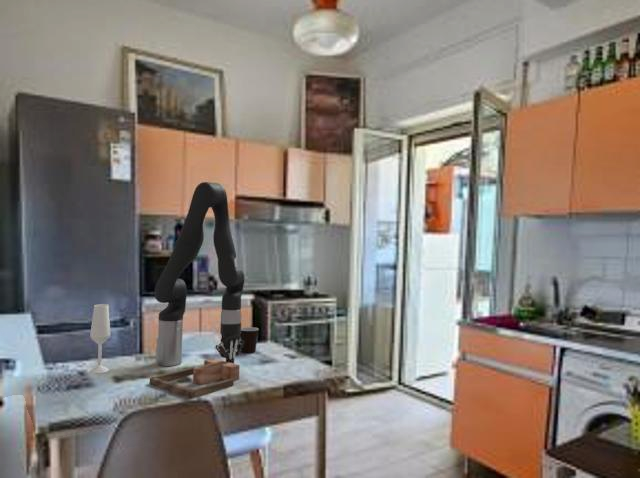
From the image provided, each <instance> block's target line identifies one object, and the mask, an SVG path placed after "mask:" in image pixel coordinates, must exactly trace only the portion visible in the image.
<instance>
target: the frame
mask: <svg viewBox="0 0 640 478" xmlns="http://www.w3.org/2000/svg"><path fill="white" fill-rule="evenodd" d="M194 368H195V367H189V368H185V369H181V370H176V371H173V372H172V371H171V372H168V373H164V374H160V375H156V376H151V377H149V385H152V386H154V387H157V388H161V389H163V390H166V391H169V392H171V393H174V394H177V395H180V396H183V397H186V398H189V399H195V398H198V397H202V396H203V395H204V396H205V395H207V394H210V393H213V392H217V391H220V390H223V389H227V388H230V387H233V386H234V380H233V379H228V380H222V381H218V382H215V383H212V384H208V385H205V386H201V387H197V388H195V389H194V388H193V389H191V388H187V387H184V386H182V385H180V384H176V383H173V382H170V381H172V380H176V379H180V378H183V377H188V376H191V375H193V371H194Z"/></svg>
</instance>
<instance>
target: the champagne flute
mask: <svg viewBox="0 0 640 478" xmlns="http://www.w3.org/2000/svg"><path fill="white" fill-rule="evenodd" d="M109 308H110V307H109V304H106V303H100V304H94V306H93V311H92V312H93V313H92V317H91V318H92V320H91V328H90V334H89V335H90V336H89V337H90V339H91V340H92V341H93V342H94V343H95V344H97V345H98V347H97V365H96V366H95V367H93V368H91V369H90V370H89V371H88V373H90V374H102V373H106V372H108V371H110V369H109V368H107V367H105V366H103V365H102V355H103V354H102V350H103V349H102V348H103V346H102V345H103V344H104V343H105V342H106V341H108V339H109V338H110V337H111V326H110V325H111V324H110V309H109Z"/></svg>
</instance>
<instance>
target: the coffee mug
mask: <svg viewBox="0 0 640 478" xmlns="http://www.w3.org/2000/svg"><path fill="white" fill-rule="evenodd" d="M258 336H259V328H258V327H250V326H248V327H247V326H246V327H241V334H240V339H241V340H242V341H245V343H244V345H243V347H242V349H241V351H240V353H242V354H255V353H256V351H257V344H258Z"/></svg>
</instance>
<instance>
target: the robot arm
mask: <svg viewBox="0 0 640 478" xmlns="http://www.w3.org/2000/svg"><path fill="white" fill-rule="evenodd" d="M227 195H228V194H227V191H226V189H225V187H224V186H223V184H221V183H217V182H211V181H210V182H209V181H204V182H201V183H199V184H197V186H196V187H195V189H194V192H193V193H192V198H191V201H190V204H189V208H188V211H187V214H186V217H185V219H184V222H183V224H182V228H181V230H180V232H179V234H178V236H177V239H176V241H175V244H174V247H173V249H172V252H171V254H170V257H169V259H168V261H167V263H166V266H165V268H164V269H163V271H162V273H161V275H160V277H159V278H158V280H157V282H156V284H155V288H154V296H155V300H156V301H157V302H158V303H161V304H167V306H166V307H165V308H164V309H163V310H161V311H160V312H159V313H158V325H157V329H158V331H157V338H156V347H155V348H156V349H155V350H156V352H155V363H156V364H157V365H159V366H163V367H171V366H177V365H180V364H182V363H183V362H182V360H183V359H182V358H183V357H182V356H183V331H184V329H183V328H184V315H185V312H186V306H187V295H188V294H187V292H188V291H187V290H188V289H187V285H186V284H187V283H185V281H184V279H181V278H179V277H180V275H181V274H182V272H183V271H184V270H185V269H187V267H188V266H189V265H190V264H191V263H192V262H193V261H194V260H196V258H197V256H198V255H199V253H200V250H201V248H202V246H203V243H204V239H205V238H204V237H205V236H204V220H205V218H206V216H207V213H208V211H209V210H210V208H211V210H212V213H213V216H214V230H213V245H214V250H215V254H216V257H217V272H218V279H219V281H220V283H221V284H222V285H223V286H225V292H224V293H223V294H222V298H221V311H220V335H221V337H220V343H219V344H216V345H215V349H216V351H217V352H218V354H219V356H220V357H221V358H224V359H225V362H229V363H233V364H235V358H236V357H237V356H239V354H240V353H241V349H242V347H243V345H244V343H245V341H242V340H241V339H240V334H241V328H242V296H243V295H242V294H243V291H244V284H245V273H244V270H243V269H241V268H240V267H237V266H236V263H235V262H236V261H235V259H236V258H237V251H236V248H235V244H234V239H233V235H232V231H231V222H230V216H229V215H230V214H229V203H228V196H227Z"/></svg>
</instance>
